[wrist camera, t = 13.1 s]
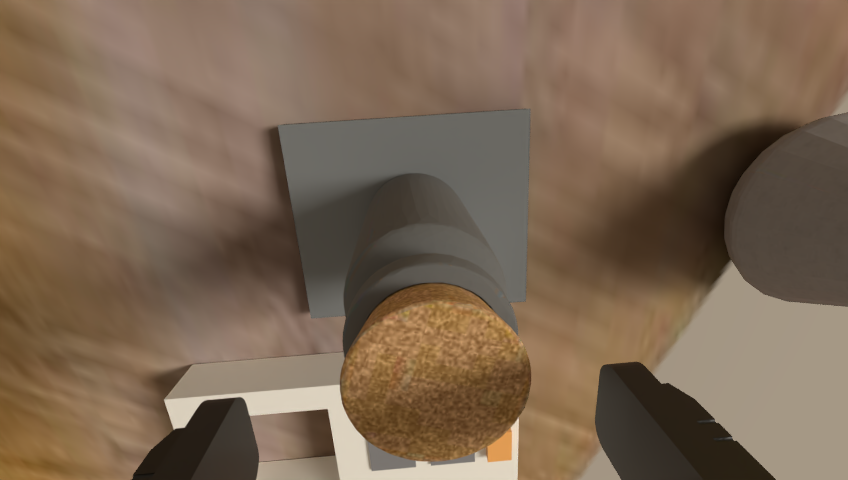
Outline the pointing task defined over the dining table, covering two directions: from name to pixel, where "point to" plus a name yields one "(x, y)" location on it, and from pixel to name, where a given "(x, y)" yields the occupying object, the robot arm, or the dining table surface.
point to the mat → (395, 156)
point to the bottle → (429, 328)
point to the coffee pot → (795, 216)
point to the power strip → (320, 389)
